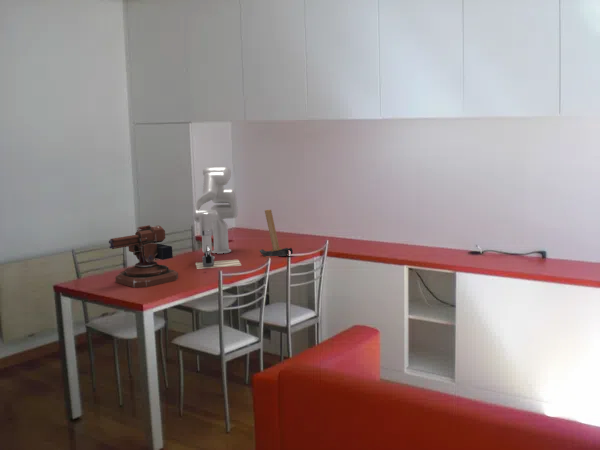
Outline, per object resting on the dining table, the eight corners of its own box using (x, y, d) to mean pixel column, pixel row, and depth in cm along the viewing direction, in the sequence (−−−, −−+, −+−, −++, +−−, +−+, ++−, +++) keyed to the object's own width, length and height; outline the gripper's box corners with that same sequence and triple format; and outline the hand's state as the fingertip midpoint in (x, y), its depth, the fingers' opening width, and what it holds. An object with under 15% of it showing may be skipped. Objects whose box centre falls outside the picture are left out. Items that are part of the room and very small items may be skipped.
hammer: (261, 259, 441) (251, 213, 439) (264, 258, 446) (254, 212, 443) (290, 255, 434) (280, 207, 431) (293, 253, 439) (283, 206, 436)
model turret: (100, 283, 381) (95, 229, 377) (154, 272, 405) (151, 221, 401) (127, 291, 361) (122, 234, 357) (183, 279, 386) (179, 225, 381)
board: (195, 264, 422) (194, 254, 421) (238, 261, 427) (237, 251, 427) (197, 270, 405) (196, 260, 404) (241, 267, 410) (241, 257, 409)
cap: (202, 263, 414) (201, 255, 414) (214, 262, 416) (213, 254, 415) (203, 265, 408) (202, 257, 407) (215, 265, 409) (214, 257, 409)
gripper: (199, 230, 417) (200, 259, 419) (201, 235, 400) (202, 264, 402) (211, 230, 418) (213, 258, 421) (214, 234, 401) (215, 263, 404)
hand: (208, 261), depth 412 cm, fingers open, 9 cm apart
